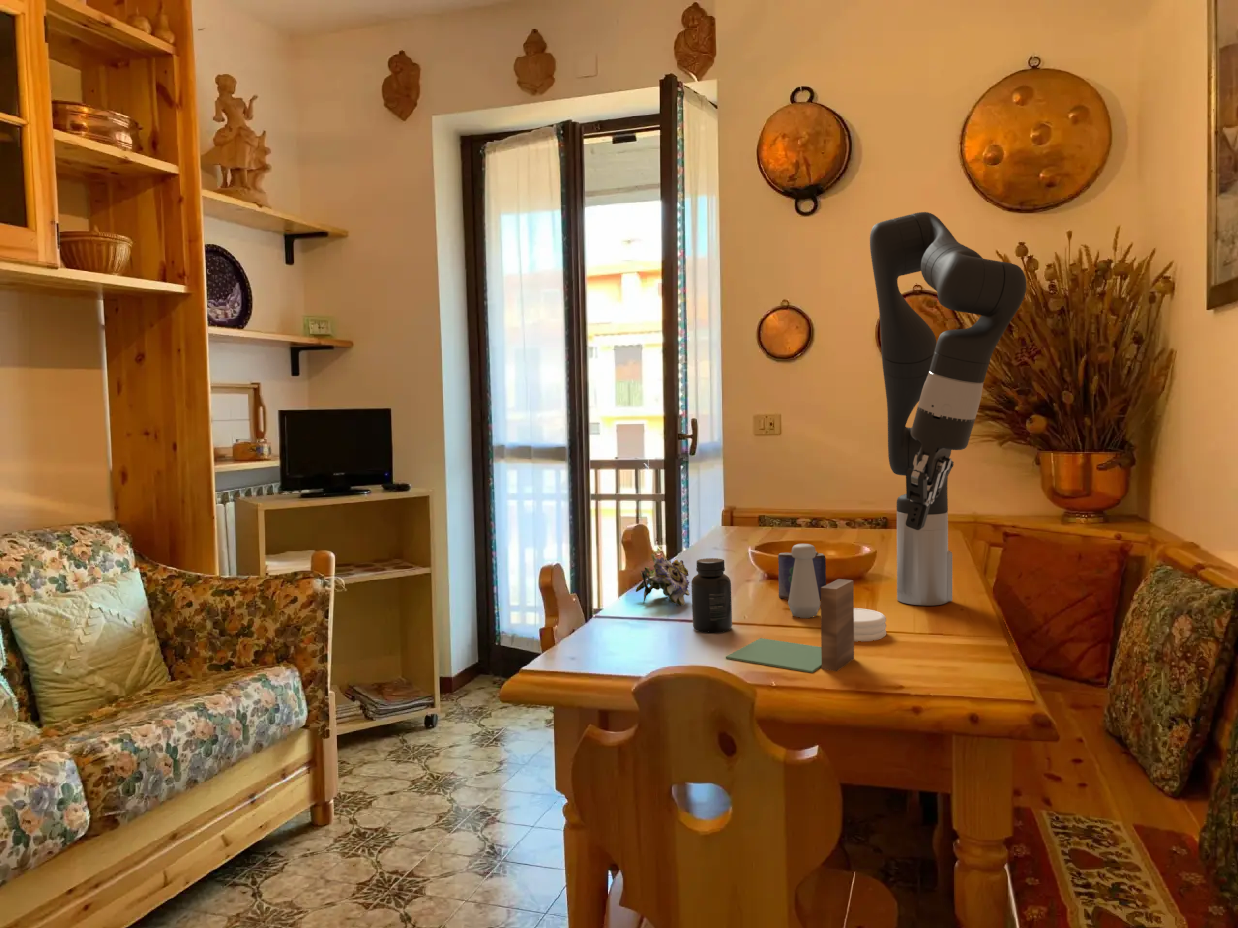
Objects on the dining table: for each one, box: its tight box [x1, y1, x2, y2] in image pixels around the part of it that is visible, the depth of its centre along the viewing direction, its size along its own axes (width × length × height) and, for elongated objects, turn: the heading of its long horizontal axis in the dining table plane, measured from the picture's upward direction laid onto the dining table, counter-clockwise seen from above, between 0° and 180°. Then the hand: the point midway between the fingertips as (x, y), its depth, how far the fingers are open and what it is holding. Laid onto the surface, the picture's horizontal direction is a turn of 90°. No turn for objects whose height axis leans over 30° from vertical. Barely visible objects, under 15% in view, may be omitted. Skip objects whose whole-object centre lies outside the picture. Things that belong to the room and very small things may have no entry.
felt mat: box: [725, 637, 822, 674], centre depth 133 cm, size 14×12×1 cm
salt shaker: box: [787, 543, 821, 619], centre depth 157 cm, size 6×6×13 cm
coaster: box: [854, 607, 887, 642], centre depth 145 cm, size 10×10×4 cm
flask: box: [777, 551, 827, 600], centre depth 171 cm, size 9×3×11 cm, turn 71°
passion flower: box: [635, 553, 691, 607], centre depth 170 cm, size 11×11×12 cm
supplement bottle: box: [690, 557, 733, 634], centre depth 150 cm, size 7×7×12 cm
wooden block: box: [820, 578, 855, 672], centre depth 128 cm, size 2×7×12 cm, turn 145°
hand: (914, 527), depth 122 cm, fingers closed
